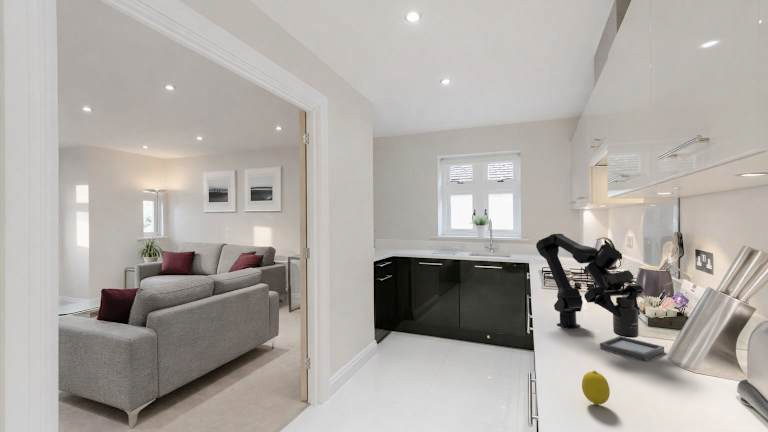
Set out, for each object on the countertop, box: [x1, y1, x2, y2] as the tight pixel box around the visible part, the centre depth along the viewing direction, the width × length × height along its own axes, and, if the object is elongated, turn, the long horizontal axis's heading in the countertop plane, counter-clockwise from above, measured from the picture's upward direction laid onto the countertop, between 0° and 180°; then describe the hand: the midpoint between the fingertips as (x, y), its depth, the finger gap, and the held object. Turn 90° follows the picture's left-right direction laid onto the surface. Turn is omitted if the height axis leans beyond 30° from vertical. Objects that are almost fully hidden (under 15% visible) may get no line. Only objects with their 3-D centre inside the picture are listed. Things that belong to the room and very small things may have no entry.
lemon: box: [581, 370, 611, 406], centre depth 78 cm, size 6×6×8 cm
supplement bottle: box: [612, 296, 640, 339], centre depth 109 cm, size 7×7×12 cm
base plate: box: [599, 335, 665, 362], centre depth 110 cm, size 13×13×2 cm
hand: (629, 315), depth 108 cm, fingers closed on supplement bottle, 7 cm apart
